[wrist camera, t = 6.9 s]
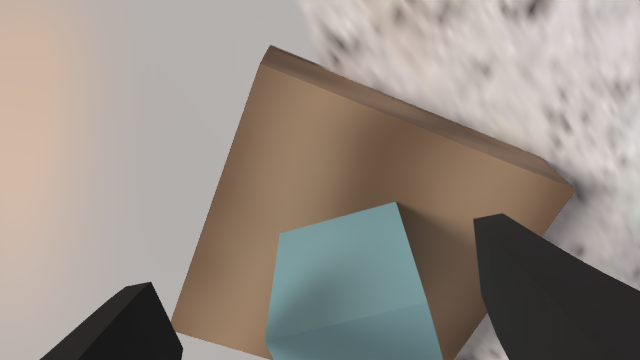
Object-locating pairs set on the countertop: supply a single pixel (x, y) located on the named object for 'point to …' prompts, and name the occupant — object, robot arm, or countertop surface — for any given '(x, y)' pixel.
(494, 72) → the countertop surface
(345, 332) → the teal block
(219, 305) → the walnut box
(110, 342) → the robot arm
